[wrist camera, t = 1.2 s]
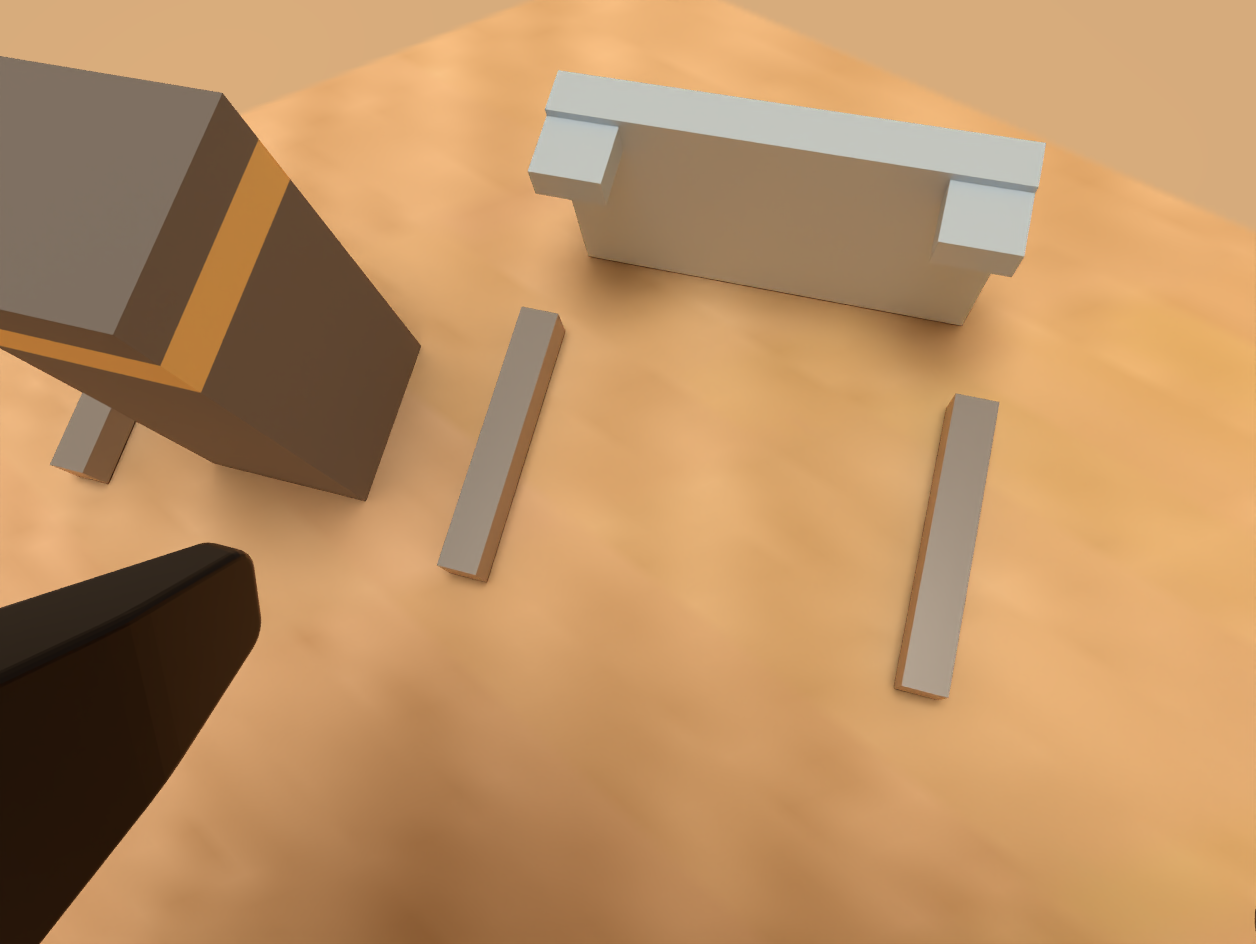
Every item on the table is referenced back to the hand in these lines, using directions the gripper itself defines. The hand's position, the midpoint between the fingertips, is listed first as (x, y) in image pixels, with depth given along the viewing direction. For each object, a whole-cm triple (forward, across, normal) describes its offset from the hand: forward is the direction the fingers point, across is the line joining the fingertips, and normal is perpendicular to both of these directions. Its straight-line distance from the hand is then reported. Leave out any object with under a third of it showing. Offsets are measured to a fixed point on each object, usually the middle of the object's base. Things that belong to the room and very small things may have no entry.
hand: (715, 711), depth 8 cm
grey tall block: (+14, +13, +6) cm, 19 cm away
